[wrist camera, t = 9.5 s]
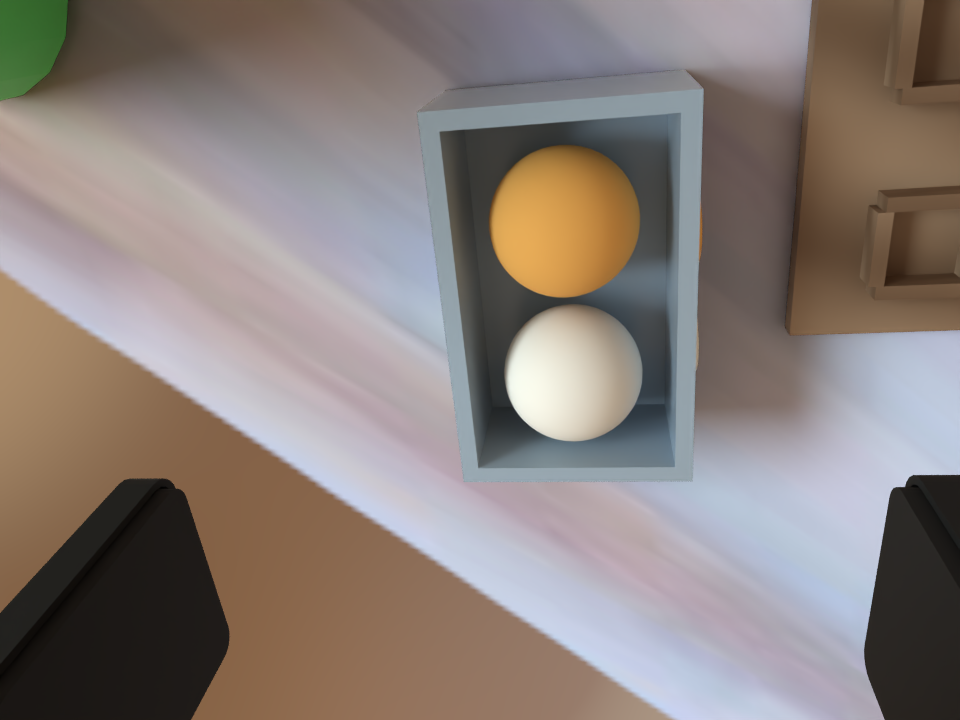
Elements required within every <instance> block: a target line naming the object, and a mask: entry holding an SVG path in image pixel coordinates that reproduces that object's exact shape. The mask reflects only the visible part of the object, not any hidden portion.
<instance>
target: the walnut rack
mask: <svg viewBox="0 0 960 720" xmlns="http://www.w3.org/2000/svg"><path fill="white" fill-rule="evenodd" d="M785 328H786V330H787V331H788V333H789V335H820V334H852V333H883V332H915V331H946V330H960V0H812V7H811V19H810V31H809V43H808V55H807V68H806V80H805V92H804V104H803V116H802V128H801V140H800V152H799V164H798V176H797V188H796V200H795V212H794V224H793V236H792V248H791V260H790V272H789V284H788V296H787V308H786V320H785Z"/></svg>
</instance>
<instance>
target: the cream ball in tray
mask: <svg viewBox="0 0 960 720" xmlns="http://www.w3.org/2000/svg"><path fill="white" fill-rule="evenodd" d="M642 372H643V371H642V361H641V357H640V353H639V350H638V347H637V345H636V343H635V341H634V339H633V337H632V336H631V334H630V333H629V332H628V330H627V329H626V328H625V327H624V326H623V325H622V324H621V323H620V322H619V321H618V320H617V319H615V318H614V317H613V316H611V315H610V314H608V313H606V312H604V311H602V310H600V309H597V308H595V307H591V306H587V305H580V304H567V305H560V306H555V307H552V308H549V309H547V310H545V311H543V312H541V313H539V314H537V315H535V316H534V317H532V318H531V319H530V320H529V321H527V322H526V323H525V324H524V325H523V326H522V328H521V329H520V330H519V331H518V332H517V334H516V335H515V337H514V338H513V340H512V342H511V345H510V347H509V349H508V352H507V356H506V360H505V368H504V379H505V385H506V390H507V393H508V396H509V399H510V401H511V403H512V405H513V407H514V409H515V410H516V412H517V413H518V414H519V416H520V417H521V418H522V419H523V420H524V421H525V422H526V423H527V424H528V425H529V426H531V427H532V428H533V429H535V430H536V431H538V432H539V433H541V434H543V435H545V436H548V437H550V438H554V439H557V440H563V441H585V440H590V439H593V438H597V437H599V436H602V435H604V434H606V433H607V432H609V431H611V430H612V429H614V428H615V427H616V426H618V425H619V424H620V423H621V422H622V421H623V420H624V419H625V418H626V417H627V415H628V414H629V413H630V411H631V410H632V408H633V407H634V405H635V403H636V401H637V398H638V396H639V393H640V389H641V385H642Z"/></svg>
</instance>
